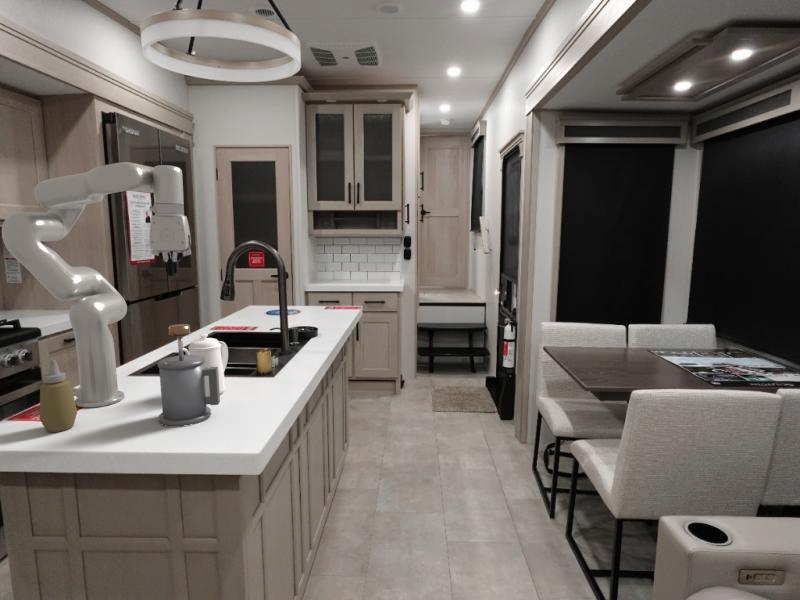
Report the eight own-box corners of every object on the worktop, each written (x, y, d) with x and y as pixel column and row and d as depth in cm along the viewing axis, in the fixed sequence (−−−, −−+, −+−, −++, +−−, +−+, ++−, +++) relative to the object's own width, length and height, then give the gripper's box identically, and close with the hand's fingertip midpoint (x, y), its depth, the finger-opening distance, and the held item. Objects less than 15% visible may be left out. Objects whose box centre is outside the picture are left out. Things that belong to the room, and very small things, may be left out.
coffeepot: (164, 406, 145) (160, 342, 142) (213, 380, 169) (210, 326, 166) (198, 408, 143) (194, 344, 140) (242, 382, 167) (240, 327, 164)
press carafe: (151, 428, 129) (147, 367, 126) (167, 410, 141) (163, 355, 139) (214, 424, 131) (211, 365, 129) (224, 407, 144) (221, 353, 141)
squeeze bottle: (37, 436, 124) (29, 366, 121) (45, 425, 131) (37, 358, 128) (75, 431, 127) (68, 362, 124) (81, 420, 134) (74, 355, 132)
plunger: (168, 362, 131) (165, 328, 130) (174, 357, 136) (171, 324, 135) (189, 361, 132) (186, 327, 130) (194, 356, 137) (192, 323, 135)
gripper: (136, 209, 137) (140, 276, 139) (192, 210, 138) (195, 277, 141) (147, 210, 144) (150, 274, 147) (200, 211, 145) (203, 274, 148)
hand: (172, 275), depth 144 cm, fingers closed
